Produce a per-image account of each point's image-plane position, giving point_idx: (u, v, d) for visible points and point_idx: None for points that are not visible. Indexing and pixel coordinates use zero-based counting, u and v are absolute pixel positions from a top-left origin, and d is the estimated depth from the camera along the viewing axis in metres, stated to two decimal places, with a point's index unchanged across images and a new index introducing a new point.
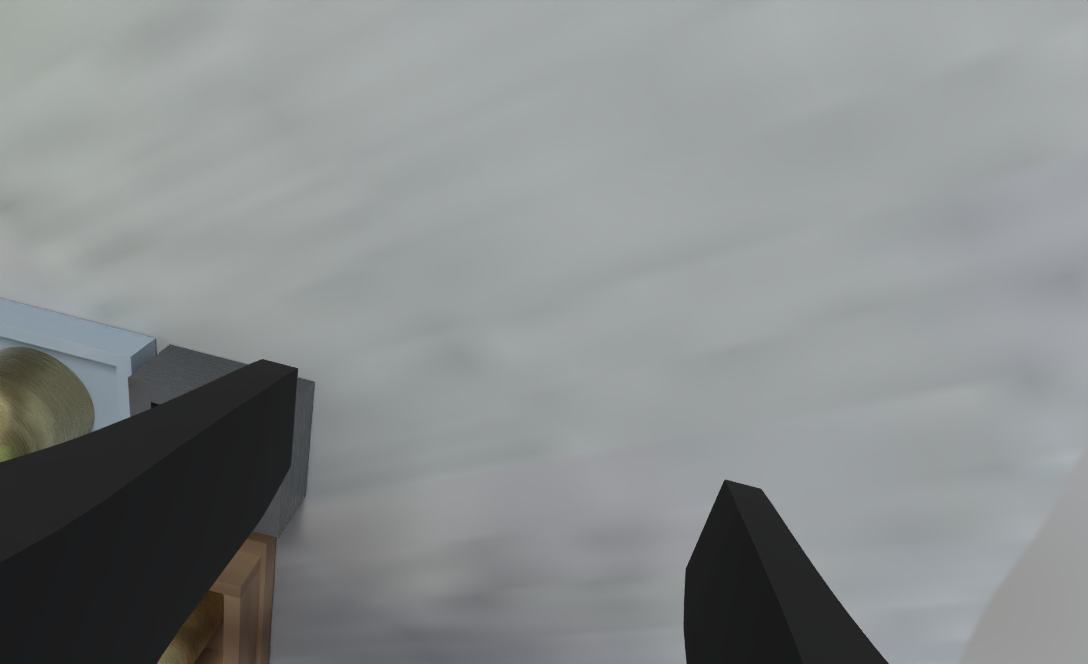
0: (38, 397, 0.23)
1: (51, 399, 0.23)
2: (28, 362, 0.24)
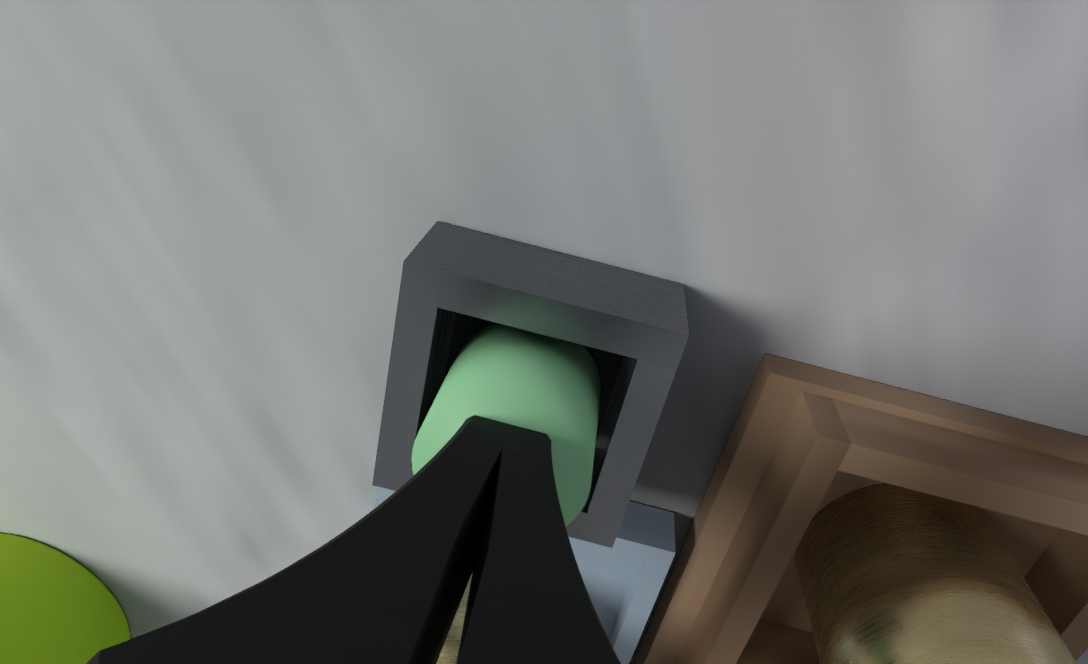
0: None
1: None
2: None
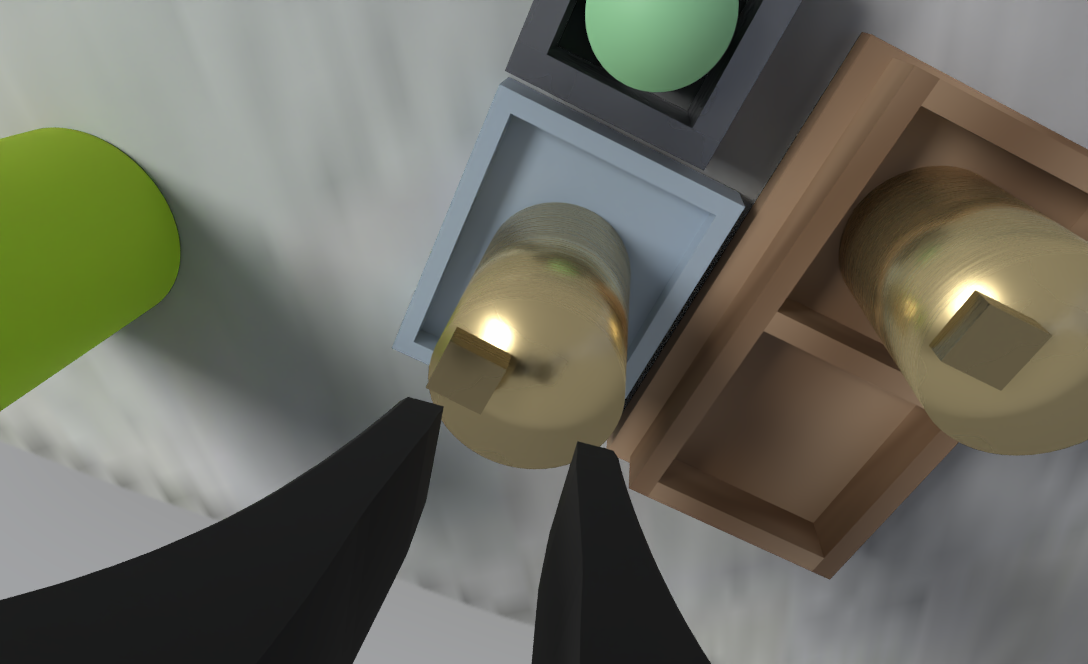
0: (523, 226, 0.18)
1: (536, 219, 0.18)
2: (495, 237, 0.19)
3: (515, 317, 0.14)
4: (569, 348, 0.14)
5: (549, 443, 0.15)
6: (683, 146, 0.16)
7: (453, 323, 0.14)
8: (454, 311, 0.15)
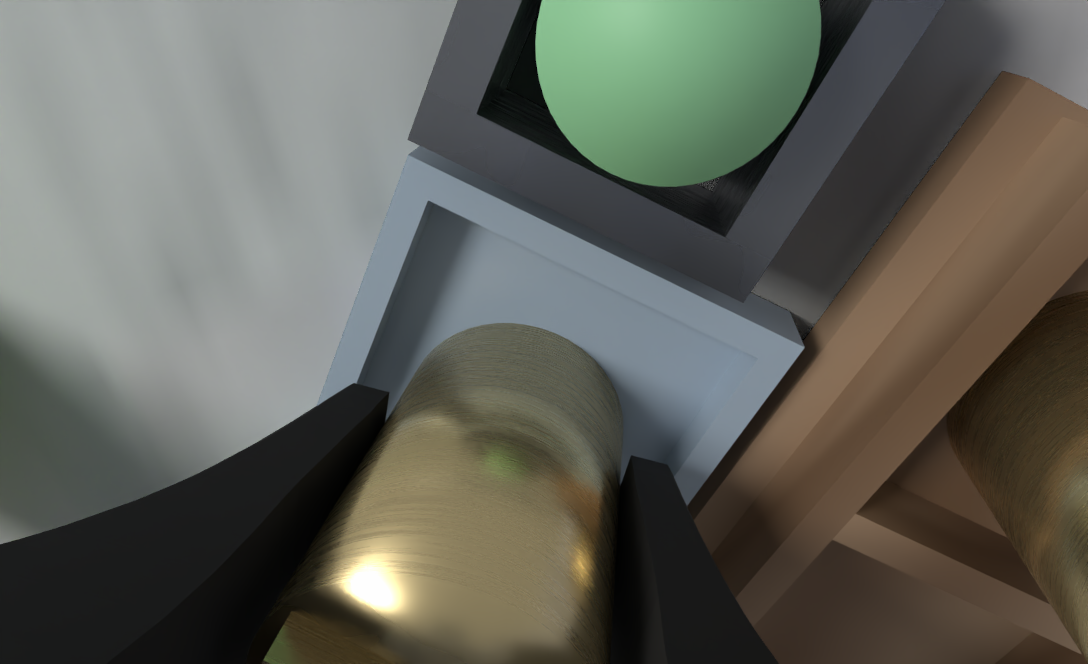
0: (456, 369, 0.11)
1: (478, 358, 0.11)
2: (418, 373, 0.12)
3: (399, 607, 0.07)
4: (502, 663, 0.07)
5: None
6: (709, 265, 0.10)
7: (284, 605, 0.07)
8: (307, 550, 0.08)
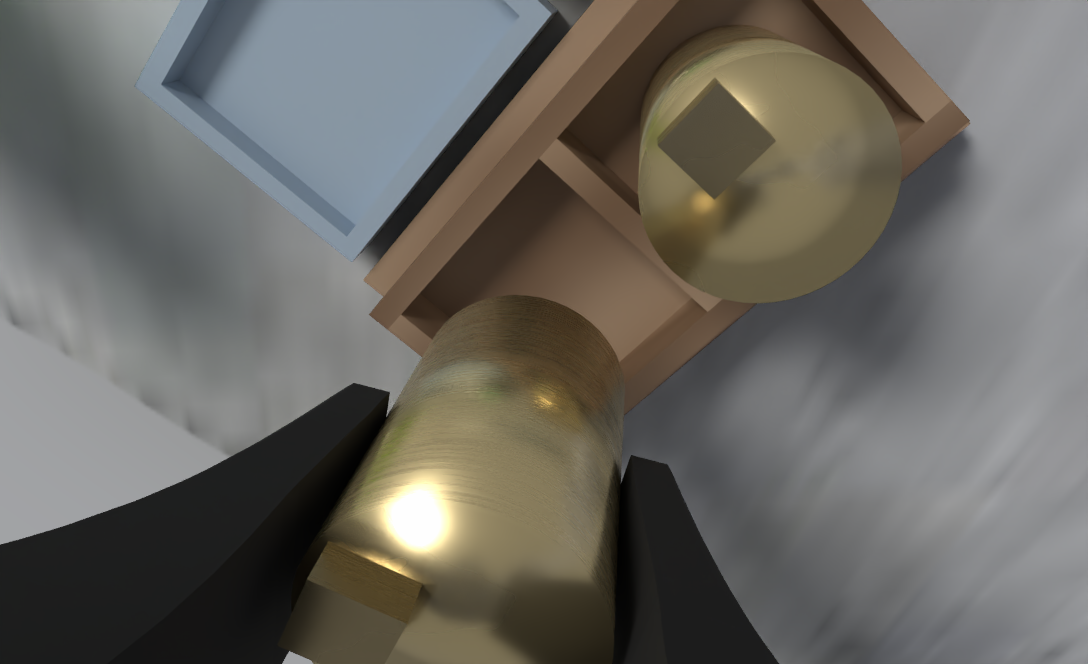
0: (464, 337, 0.12)
1: (484, 326, 0.12)
2: (430, 346, 0.13)
3: (423, 529, 0.08)
4: (517, 575, 0.08)
5: None
6: None
7: (322, 536, 0.08)
8: (339, 496, 0.09)
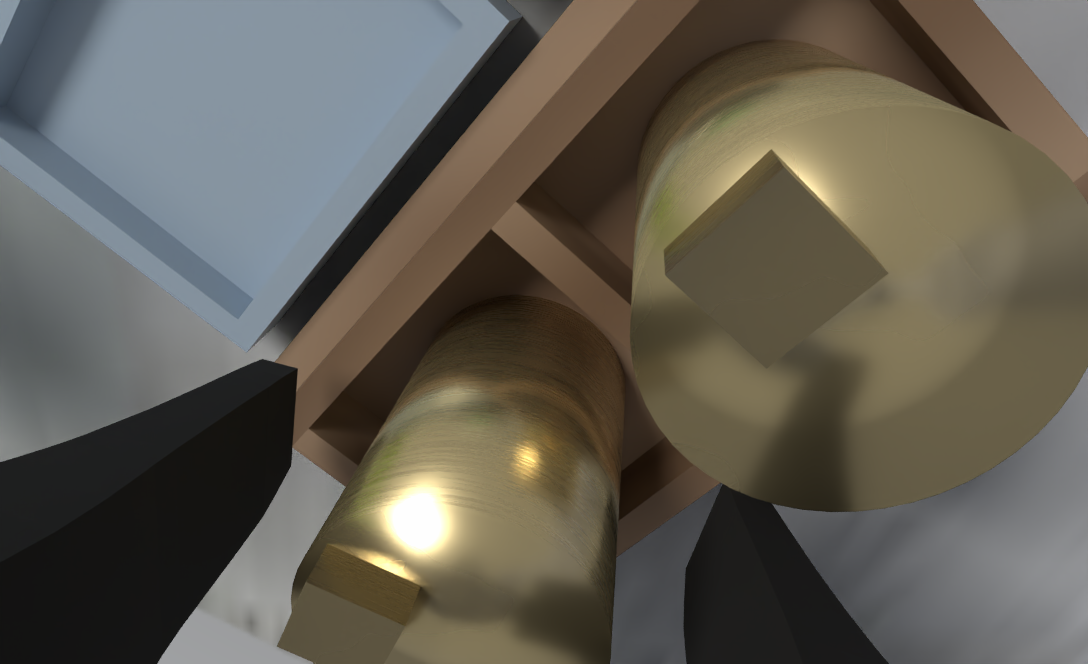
0: (464, 337, 0.12)
1: (484, 327, 0.12)
2: (431, 346, 0.13)
3: (421, 532, 0.08)
4: (514, 578, 0.08)
5: None
6: None
7: (321, 538, 0.08)
8: None
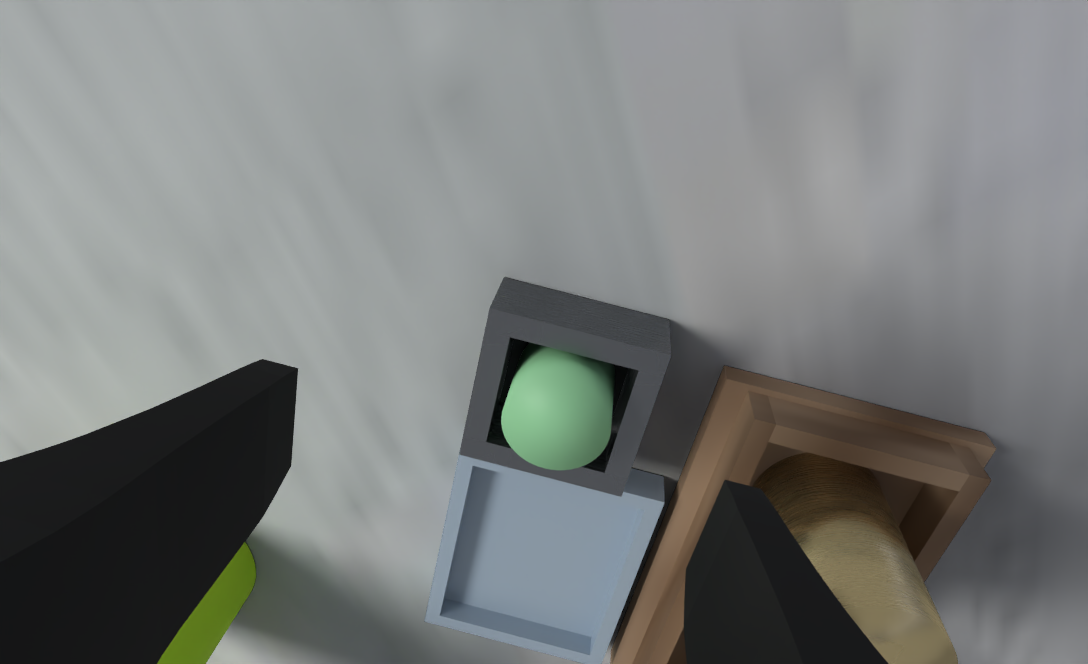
0: None
1: None
2: None
3: None
4: None
5: None
6: (601, 484, 0.21)
7: None
8: None
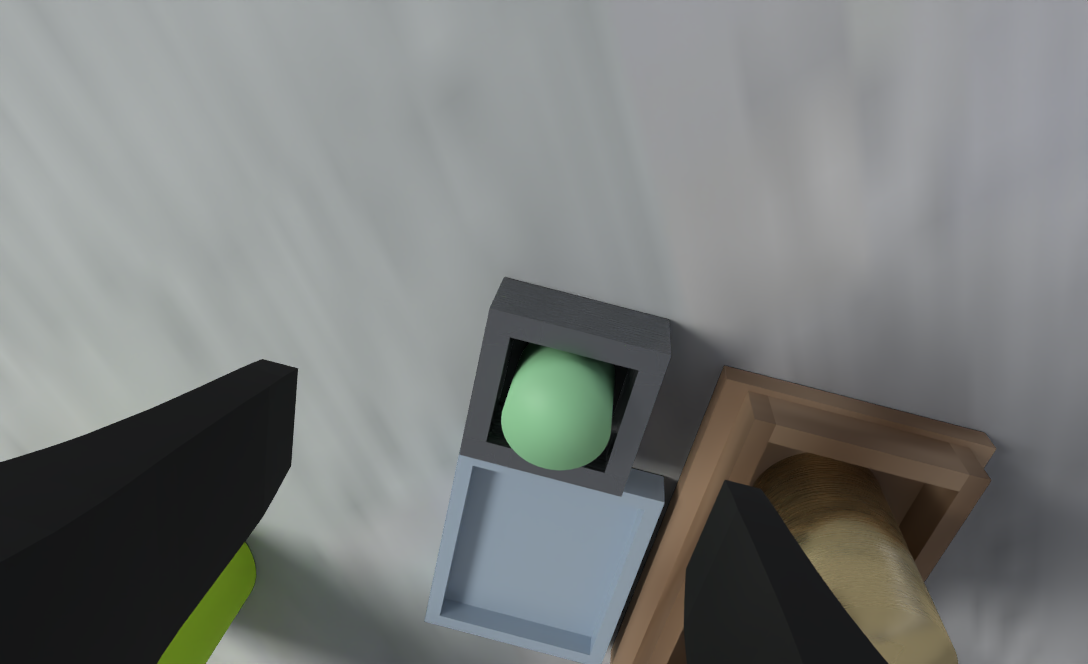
0: None
1: None
2: None
3: None
4: None
5: None
6: (601, 484, 0.21)
7: None
8: None
